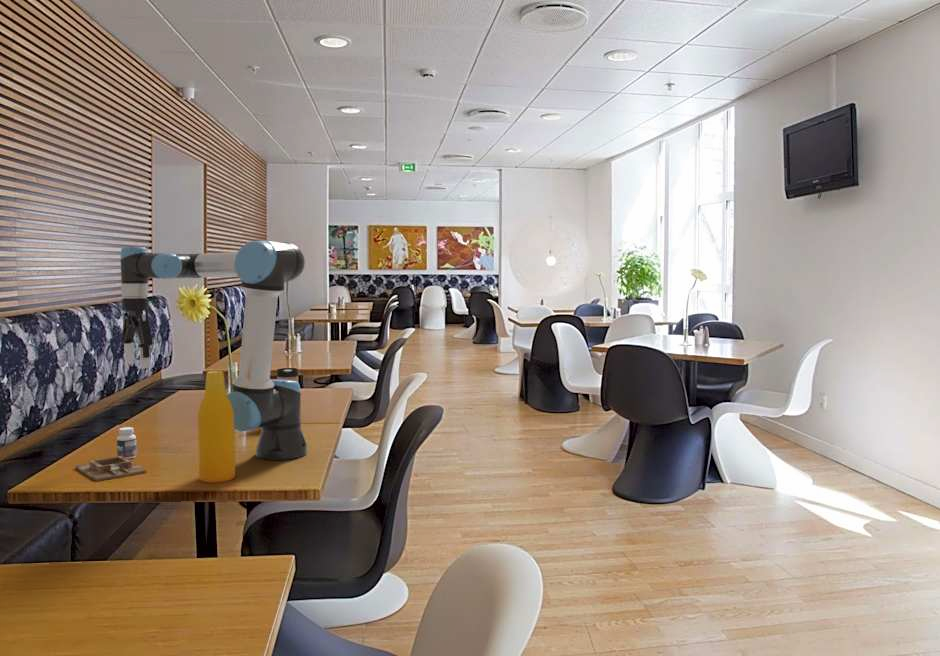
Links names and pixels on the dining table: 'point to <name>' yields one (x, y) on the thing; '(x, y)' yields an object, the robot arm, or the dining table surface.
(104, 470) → the organizer
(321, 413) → the dining table surface
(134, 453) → the pill bottle
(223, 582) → the dining table surface
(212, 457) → the beer bottle
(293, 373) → the travel mug
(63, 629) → the dining table surface
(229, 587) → the dining table surface
